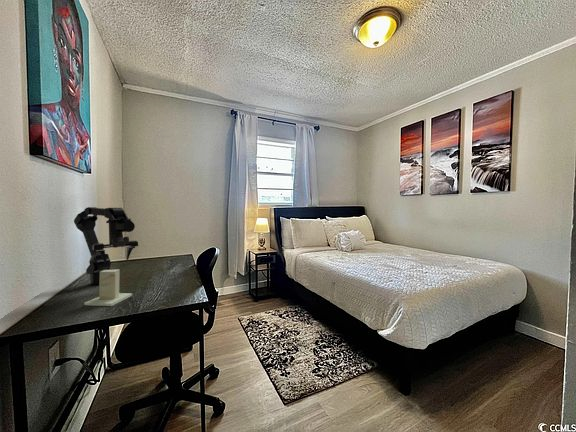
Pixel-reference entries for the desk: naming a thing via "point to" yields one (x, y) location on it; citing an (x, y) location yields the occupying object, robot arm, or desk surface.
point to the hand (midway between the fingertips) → (116, 261)
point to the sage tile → (108, 300)
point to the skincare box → (109, 284)
